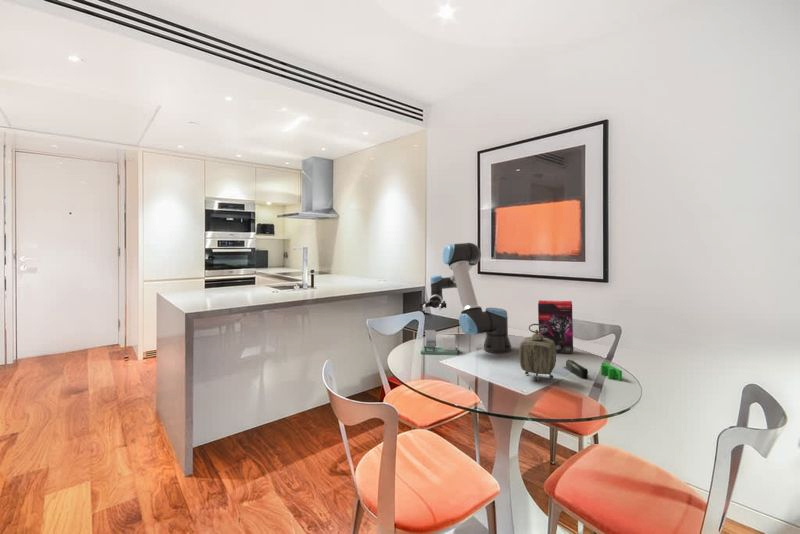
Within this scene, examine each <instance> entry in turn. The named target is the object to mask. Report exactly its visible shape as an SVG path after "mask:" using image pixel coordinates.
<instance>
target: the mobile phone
mask: <svg viewBox="0 0 800 534" xmlns="http://www.w3.org/2000/svg"><path fill="white" fill-rule="evenodd" d="M563 368H564V369H565V370H567V371H569V372H570V373H573V375H575V376H576V377H578V378H580V379H582V380H587V379H589V377H588V376H589V375H588V374H589V370H588V368H586V367H584V366H582V365H581V364H579V363H578V362H576V361H575V360H573V359H566V361H565V365H563Z"/></svg>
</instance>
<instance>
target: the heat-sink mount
mask: <svg viewBox="0 0 800 534" xmlns="http://www.w3.org/2000/svg"><path fill="white" fill-rule="evenodd" d="M441 339H442V340H441V342H442V344H441V345H442V346H426V345H423V346H422V348H421V350H420V354H421V355H458V350H459V347H458V346H457V345H456V343H457V340H456V334H443V335H442V336H441Z"/></svg>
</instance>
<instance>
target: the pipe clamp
mask: <svg viewBox="0 0 800 534" xmlns="http://www.w3.org/2000/svg"><path fill="white" fill-rule="evenodd" d="M600 375H601V376H606V377H607V379H609V380H610V379H611V380H613V379H615V380H617V381H619V382H623V370H621V369H619V368H617V367H615V366H613V365H611V364H609V363H606V362H603V361H602V362H601V365H600Z"/></svg>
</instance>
